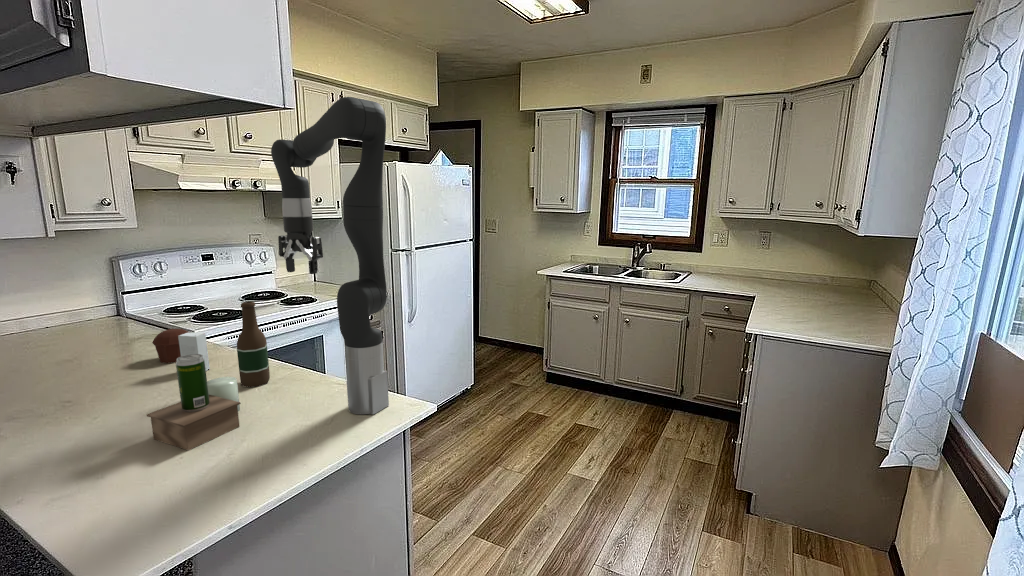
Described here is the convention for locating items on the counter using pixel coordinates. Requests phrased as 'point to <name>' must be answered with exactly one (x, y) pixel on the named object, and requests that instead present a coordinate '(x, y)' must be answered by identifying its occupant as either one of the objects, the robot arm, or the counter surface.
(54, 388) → the counter surface
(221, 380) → the pale green capsule
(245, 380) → the beer bottle
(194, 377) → the beer can
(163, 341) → the muffin
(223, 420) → the podium
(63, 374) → the counter surface
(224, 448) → the counter surface
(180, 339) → the skincare box
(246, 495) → the counter surface
